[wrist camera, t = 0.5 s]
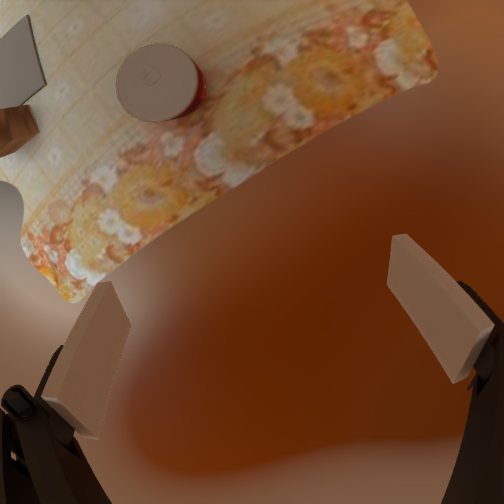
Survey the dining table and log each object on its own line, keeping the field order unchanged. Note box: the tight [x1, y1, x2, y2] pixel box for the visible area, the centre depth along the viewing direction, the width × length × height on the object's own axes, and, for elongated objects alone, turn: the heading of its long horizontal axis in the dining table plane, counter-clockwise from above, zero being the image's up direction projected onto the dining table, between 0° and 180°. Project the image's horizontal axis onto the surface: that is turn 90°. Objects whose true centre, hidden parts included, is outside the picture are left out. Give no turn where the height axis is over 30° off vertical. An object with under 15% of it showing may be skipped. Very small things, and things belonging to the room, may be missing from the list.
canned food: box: [116, 44, 206, 122], centre depth 26 cm, size 8×8×11 cm
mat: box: [0, 15, 47, 109], centre depth 25 cm, size 14×14×1 cm
